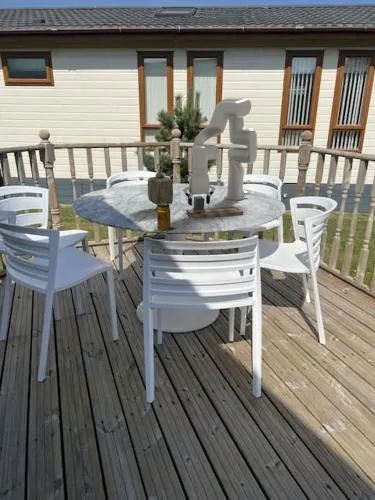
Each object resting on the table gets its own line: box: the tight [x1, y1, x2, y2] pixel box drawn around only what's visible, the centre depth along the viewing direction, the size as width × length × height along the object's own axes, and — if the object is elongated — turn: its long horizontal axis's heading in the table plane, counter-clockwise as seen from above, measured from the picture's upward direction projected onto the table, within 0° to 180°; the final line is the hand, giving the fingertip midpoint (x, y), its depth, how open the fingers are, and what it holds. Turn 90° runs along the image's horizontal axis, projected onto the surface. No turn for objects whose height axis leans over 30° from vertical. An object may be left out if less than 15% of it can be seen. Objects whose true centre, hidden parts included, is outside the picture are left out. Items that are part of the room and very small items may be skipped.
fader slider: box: [192, 195, 206, 213], centre depth 187 cm, size 5×6×7 cm
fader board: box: [185, 205, 244, 219], centre depth 191 cm, size 28×12×2 cm, turn 108°
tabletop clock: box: [147, 163, 174, 211], centre depth 193 cm, size 14×9×25 cm, turn 28°
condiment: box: [154, 203, 177, 233], centre depth 164 cm, size 7×8×12 cm
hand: (199, 204), depth 187 cm, fingers open, 9 cm apart
